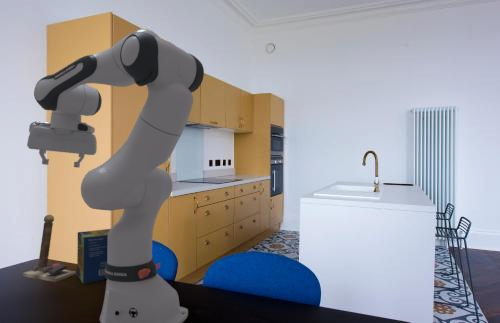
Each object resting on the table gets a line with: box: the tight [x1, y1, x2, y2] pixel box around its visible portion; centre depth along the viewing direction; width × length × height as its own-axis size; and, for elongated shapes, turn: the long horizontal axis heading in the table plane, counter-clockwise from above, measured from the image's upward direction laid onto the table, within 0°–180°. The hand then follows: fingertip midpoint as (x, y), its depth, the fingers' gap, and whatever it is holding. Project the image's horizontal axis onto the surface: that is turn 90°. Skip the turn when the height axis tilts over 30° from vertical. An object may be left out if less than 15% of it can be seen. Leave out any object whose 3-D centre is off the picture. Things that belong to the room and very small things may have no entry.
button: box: [51, 263, 61, 269], centre depth 120 cm, size 3×3×2 cm
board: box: [21, 265, 77, 283], centre depth 119 cm, size 16×8×3 cm, turn 70°
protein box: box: [76, 228, 111, 285], centre depth 119 cm, size 10×15×16 cm
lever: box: [37, 214, 55, 270], centre depth 121 cm, size 3×3×20 cm
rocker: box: [48, 264, 68, 275], centre depth 117 cm, size 3×5×1 cm, turn 160°
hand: (61, 165), depth 112 cm, fingers open, 8 cm apart
